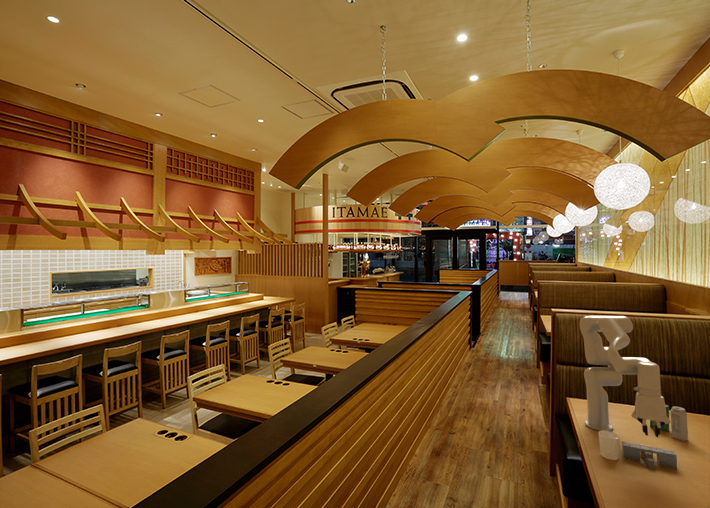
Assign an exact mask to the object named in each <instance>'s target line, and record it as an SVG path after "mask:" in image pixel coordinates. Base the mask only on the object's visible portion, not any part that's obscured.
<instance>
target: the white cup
mask: <svg viewBox="0 0 710 508" xmlns="http://www.w3.org/2000/svg"><path fill="white" fill-rule="evenodd" d="M598 444H599V449H600V456H601V455H602V456H603V457H602V456H601V457H602V458H604V457H605V459H606V460H609V459H610V460H609V461H618V460H619V459H620V456H619V455H620V454H619V453H620V436H619V434H617V433H616V432H613V431H598ZM617 459H618V460H617Z"/></svg>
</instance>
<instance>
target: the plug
mask: <svg viewBox="0 0 710 508" xmlns="http://www.w3.org/2000/svg"><path fill="white" fill-rule="evenodd" d="M638 444H639V445H644V446H650V447H652V445H649V444H644V443H638ZM641 456H644V457H643V458H644V461H645V464H646V466H647V467H648V469H651V470H656V467H655V466H656V464H655V459H654V453H650V452H644V451H640V457H641Z"/></svg>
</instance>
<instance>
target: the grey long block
mask: <svg viewBox="0 0 710 508" xmlns="http://www.w3.org/2000/svg"><path fill="white" fill-rule="evenodd" d="M621 447H622V448H621V451H622V453H621V454H622V458H623V457H624V458H625V459H624V458H623V459H624V460H627V459H630V460H629V461H632V460H634V461H633V462H638V461H639V463H641V455H640V451H644V452H650V453H653V454H655V455H656V463H657V464H658V466H660V467H663V468H668V469H673V470H678V459H677V458H678V457H677V454H676V452H675V450H671V449H664V448H660V447H654V446H651V447H650V446H644V445H639V443H633V442H626V441H621Z"/></svg>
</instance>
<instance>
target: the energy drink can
mask: <svg viewBox="0 0 710 508" xmlns="http://www.w3.org/2000/svg"><path fill="white" fill-rule="evenodd" d="M670 422H671V424H670V425H671V436H672V437H673V438H674V439H675V440H677V441H680V440H681V442H687V440H688V439H689V432H688V414H687V411H686V409H685V408H684V407H681V406H675V405H674V406H672V407H671V409H670Z"/></svg>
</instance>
